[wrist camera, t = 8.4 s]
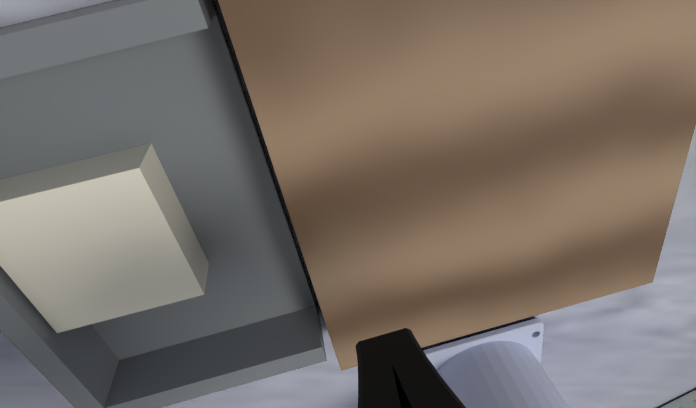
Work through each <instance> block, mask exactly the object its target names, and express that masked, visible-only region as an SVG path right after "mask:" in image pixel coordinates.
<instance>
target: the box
mask: <svg viewBox="0 0 696 408" xmlns="http://www.w3.org/2000/svg"><path fill="white" fill-rule="evenodd" d="M146 144H152V146H153V148H154V150H155V152H156V154H157V156H158V158H159V161H160V163H161V165H162V167H163V169H164V171H165V173H166V175H167V177H168V179H169V181H170V183H171V186H172V188H173V190H174V192H175V194H176V196H177V198H178V200H179V202H180V204H181V206H182V208H183V211H184V213H185V215H186V217H187V219H188V221H189V223H190V225H191V227H192V229H193V231H194V233H195V236H196V238H197V240H198V242H199V244H200V246H201V248H202V250H203V252H204V254H205V256H206V258H207V261H208V263H209V266H208V273H207V280H206V287H205V294H204V295H201V296H197V297H194V298H190V299H186V300H182V301H178V302H174V303H171V304H167V305H163V306H159V307H155V308H151V309H148V310H144V311H140V312H136V313H132V314H128V315H125V316H121V317H117V318H113V319H109V320H106V321H102V322H98V323H94V324H90V325H86V326H83V327H79V328H75V329H71V330H67V331H63V332H60V333H56V331H55V330H54V329H53V328H52V327H51V325H50V324H49V323H48V322H47V321H46V319H45V318H44V317H43V316H42V315H41V314H40V312H39V311H38V310H37V309H36V308H35V306H34V305H33V304H32V303H31V302H30V300H29V299H28V298H27V297H26V296H25V294H24V293H23V292H22V291H21V290H20V289H19V287H18V286H17V285H16V284H15V283H14V281H13V280H12V279H11V278H10V277H9V275H8V274H7V273H6V272H5V271H4V269H3V268H2V267H1V266H0V331H1V332H2V333H3V334H4V335H5V336H6V337H7V338H8V339H9V340H10V341H11V342H12V343H13V344H14V345H15V346H16V347H17V348H18V349H19V350H20V351H21V353H22V354H23V355H24V356H25V357H26V358H27V359H28V360H29V361H30V362H31V363H32V364H33V365H34V366H35V367H36V368H37V369H38V370H39V371H40V372H41V373H42V374H43V375H44V376H45V377H46V378H47V379H48V380H49V381H50V382H51V383H52V384H53V385H54V387H55V388H56V389H57V390H58V391H59V392H60V393H61V394H62V395H63V396H64V397H65V398H66V399H67V400H68V401H69V402H70V403H71V404H72V405H73V406H74V407H75V408H161V407H164V406H168V405H171V404H175V403H178V402H182V401H185V400H189V399H192V398H196V397H199V396H203V395H207V394H210V393H214V392H217V391H221V390H224V389H228V388H231V387H235V386H238V385H242V384H246V383H249V382H253V381H256V380H260V379H263V378H267V377H270V376H274V375H277V374H281V373H284V372H288V371H292V370H295V369H299V368H302V367H306V366H309V365H313V364H316V363H320V362H323V361H327V360H326V354H325V348H324V342H323V336H322V330H321V324H320V318H319V313H318V310H317V307H316V304H315V301H314V298H313V295H312V292H311V289H310V286H309V283H308V280H307V277H306V274H305V271H304V268H303V265H302V263H301V260H300V257H299V254H298V251H297V248H296V245H295V242H294V239H293V236H292V233H291V230H290V227H289V224H288V221H287V218H286V215H285V212H284V210H283V207H282V204H281V201H280V198H279V195H278V192H277V189H276V186H275V183H274V180H273V177H272V174H271V171H270V168H269V165H268V162H267V159H266V157H265V154H264V151H263V148H262V145H261V142H260V139H259V136H258V133H257V130H256V127H255V124H254V121H253V118H252V115H251V112H250V109H249V106H248V103H247V101H246V98H245V95H244V92H243V89H242V86H241V83H240V80H239V77H238V74H237V71H236V68H235V65H234V62H233V59H232V56H231V53H230V50H229V48H228V45H227V42H226V39H225V36H224V33H223V30H222V27H221V24H220V21H219V18H218V15H217V12H216V9H215V6H214V3H213V0H114V1H110V2H106V3H102V4H98V5H93V6H89V7H85V8H81V9H77V10H73V11H68V12H64V13H60V14H56V15H52V16H48V17H43V18H39V19H35V20H31V21H27V22H23V23H18V24H14V25H10V26H6V27H2V28H0V180H2V179H6V178H10V177H14V176H18V175H22V174H27V173H31V172H35V171H39V170H43V169H47V168H51V167H55V166H60V165H64V164H68V163H72V162H76V161H80V160H84V159H89V158H93V157H97V156H101V155H105V154H109V153H113V152H117V151H122V150H126V149H130V148H134V147H138V146H142V145H146Z"/></svg>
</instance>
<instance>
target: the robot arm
mask: <svg viewBox="0 0 696 408" xmlns="http://www.w3.org/2000/svg"><path fill="white" fill-rule="evenodd" d="M543 332H544V324H543V323H542V321H541V320H540V319H531V320H528V321H524V322H521V323H517V324H514V325H510V326H507V327H503V328H500V329H496V330H493V331H489V332H486V333H482V334H479V335H475V336H472V337H468V338H465V339H461V340H458V341H454V342H450V343H447V344H443V345H440V346H436V347H433V348H429V349H426V350H422V348H421V347H420V345H419V343H418V342H417V340H416V338H415V337H414V335H413V333H412V331H411V330H410V329H408V328H404V329H400V330H397V331H393V332H390V333H386V334H383V335H379V336H376V337H372V338H369V339H366V340H362V341H359V342H358V343H357V344H356V353H357V361H358V408H569V407H568V406H567V404H566V403H565V401H564V400H563V398H562V397H561V395H560V394H559V392H558V391H557V389H556V388H555V386H554V384H553V383H552V381H551V380H550V378H549V377H548V375H547V374H546V372H545V371H544V369H543V368H542V366H541V355H542V343H543Z"/></svg>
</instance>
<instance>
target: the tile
mask: <svg viewBox="0 0 696 408" xmlns="http://www.w3.org/2000/svg"><path fill="white" fill-rule="evenodd" d="M0 266H1V267H2V268H3V269H4V271H5V272H6V273H7V274H8V275H9V277H10V278H11V279H12V280H13V281H14V283H15V284H16V285H17V286H18V287H19V289H20V290H21V291H22V292H23V293H24V294H25V296H26V297H27V298H28V299H29V300H30V302H31V303H32V304H33V305H34V306H35V308H36V309H37V310H38V311H39V312H40V314H41V315H42V316H43V317H44V318H45V319H46V321H47V322H48V323H49V324H50V325H51V327H52V328H53V329H54V330H55V331H56V333H60V332H63V331H67V330H71V329H75V328H79V327H83V326H86V325H90V324H94V323H98V322H102V321H106V320H109V319H113V318H117V317H121V316H125V315H128V314H132V313H136V312H140V311H144V310H148V309H151V308H155V307H159V306H163V305H167V304H171V303H174V302H178V301H182V300H186V299H190V298H194V297H197V296H201V295H204V294H205V287H206V280H207V273H208V266H209V263H208V261H207V258H206V256H205V254H204V252H203V250H202V248H201V246H200V244H199V242H198V240H197V238H196V236H195V233H194V231H193V229H192V227H191V225H190V223H189V221H188V219H187V217H186V215H185V213H184V211H183V208H182V206H181V204H180V202H179V200H178V198H177V196H176V194H175V192H174V190H173V188H172V186H171V183H170V181H169V179H168V177H167V175H166V173H165V171H164V169H163V167H162V165H161V163H160V161H159V158H158V156H157V154H156V152H155V150H154V148H153V146H152V144H146V145H142V146H138V147H134V148H130V149H126V150H122V151H117V152H113V153H109V154H105V155H101V156H97V157H93V158H89V159H84V160H80V161H76V162H72V163H68V164H64V165H60V166H55V167H51V168H47V169H43V170H39V171H35V172H31V173H27V174H22V175H18V176H14V177H10V178H6V179H2V180H0Z"/></svg>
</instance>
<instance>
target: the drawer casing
mask: <svg viewBox="0 0 696 408" xmlns="http://www.w3.org/2000/svg"><path fill="white" fill-rule="evenodd" d="M218 2H219V5H220V8H221V11H222V14H223V17H224V20H225V23H226V26H227V29H228V32H229V35H230V38H231V41H232V44H233V47H234V50H235V53H236V56H237V59H238V62H239V65H240V68H241V71H242V74H243V77H244V80H245V83H246V86H247V89H248V92H249V95H250V98H251V101H252V104H253V107H254V110H255V113H256V116H257V119H258V122H259V125H260V128H261V131H262V134H263V137H264V140H265V143H266V146H267V149H268V152H269V155H270V158H271V161H272V164H273V167H274V170H275V173H276V176H277V179H278V182H279V185H280V188H281V191H282V194H283V197H284V200H285V203H286V206H287V209H288V212H289V215H290V218H291V221H292V224H293V227H294V230H295V233H296V236H297V239H298V242H299V245H300V248H301V251H302V254H303V257H304V260H305V263H306V266H307V269H308V272H309V275H310V278H311V281H312V284H313V287H314V290H315V293H316V296H317V299H318V302H319V305H320V308H321V311H322V314H323V317H324V320H325V323H326V326H327V329H328V332H329V335H330V338H331V341H332V344H333V347H334V350H335V353H336V356H337V359H338V362H339V365H340V368H341V370H345V369H348V368H352V367H355V366H358V361H357V353H356V344H357V343H358V342H359V341H362V340H366V339H369V338H372V337H376V336H379V335H383V334H386V333H390V332H393V331H397V330H400V329H404V328H408V329H410V330H411V331H412V333H413V335H414V337H415V338H416V340H417V342H418V343H419V345H420V347H421V348H422V347H426V346H429V345H433V344H437V343H440V342H444V341H447V340H451V339H454V338H458V337H461V336H465V335H468V334H472V333H475V332H479V331H482V330H486V329H489V328H493V327H496V326H500V325H504V324H507V323H511V322H514V321H518V320H521V319H525V318H528V317H532V316H535V315H539V314H542V313H546V312H549V311H553V310H556V309H560V308H563V307H567V306H570V305H574V304H578V303H581V302H585V301H588V300H592V299H595V298H599V297H602V296H606V295H609V294H613V293H616V292H620V291H623V290H627V289H630V288H634V287H637V286H641V285H644V284H648V283H652V282H653V279H654V275H655V272H656V268H657V264H658V261H659V257H660V253H661V250H662V246H663V242H664V239H665V235H666V231H667V228H668V224H669V220H670V217H671V213H672V209H673V206H674V202H675V198H676V195H677V191H678V187H679V184H680V180H681V176H682V173H683V169H684V165H685V162H686V158H687V154H688V151H689V147H690V143H691V140H692V136H693V132H694V129H695V125H696V0H218Z"/></svg>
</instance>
